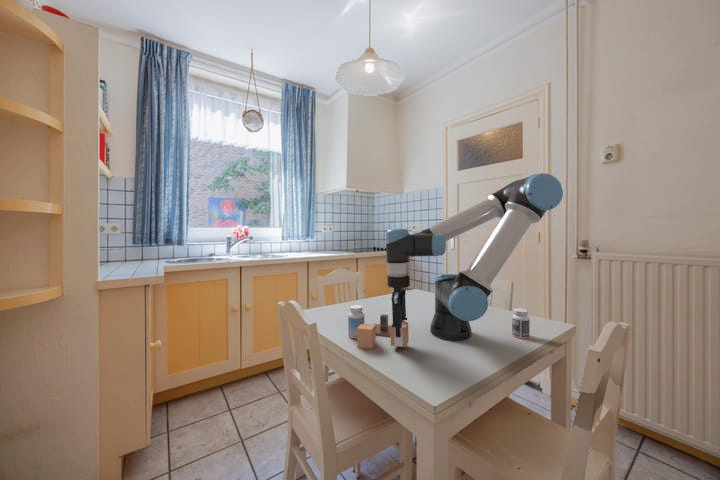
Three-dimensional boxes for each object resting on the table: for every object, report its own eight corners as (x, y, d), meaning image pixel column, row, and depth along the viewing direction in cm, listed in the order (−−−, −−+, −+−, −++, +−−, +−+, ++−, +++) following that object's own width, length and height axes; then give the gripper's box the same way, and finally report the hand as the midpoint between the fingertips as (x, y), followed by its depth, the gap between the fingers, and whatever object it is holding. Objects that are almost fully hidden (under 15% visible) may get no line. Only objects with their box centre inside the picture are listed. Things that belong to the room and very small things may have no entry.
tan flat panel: (406, 328, 116) (406, 313, 116) (402, 337, 107) (402, 321, 107) (372, 325, 121) (372, 310, 120) (366, 334, 111) (366, 317, 111)
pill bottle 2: (528, 334, 109) (529, 308, 109) (530, 340, 104) (530, 313, 103) (511, 332, 111) (511, 307, 111) (512, 337, 106) (512, 311, 106)
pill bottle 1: (362, 339, 105) (362, 309, 105) (346, 338, 107) (346, 308, 106) (365, 333, 111) (365, 305, 111) (350, 332, 113) (350, 304, 112)
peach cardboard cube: (375, 343, 102) (375, 324, 102) (371, 348, 97) (371, 329, 97) (361, 341, 104) (361, 323, 104) (357, 347, 99) (357, 328, 99)
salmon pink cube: (408, 341, 100) (408, 322, 100) (406, 347, 95) (405, 327, 95) (393, 339, 101) (393, 321, 101) (390, 345, 97) (390, 326, 96)
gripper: (392, 270, 107) (394, 332, 108) (381, 279, 90) (383, 352, 91) (412, 270, 105) (414, 333, 106) (405, 279, 87) (407, 355, 88)
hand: (400, 342), depth 98 cm, fingers closed on salmon pink cube, 5 cm apart
